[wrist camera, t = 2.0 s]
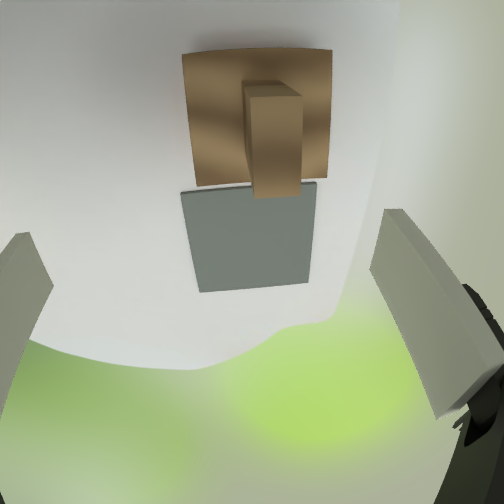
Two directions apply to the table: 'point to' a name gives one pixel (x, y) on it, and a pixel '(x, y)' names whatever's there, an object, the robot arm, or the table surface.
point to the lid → (259, 117)
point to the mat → (249, 237)
